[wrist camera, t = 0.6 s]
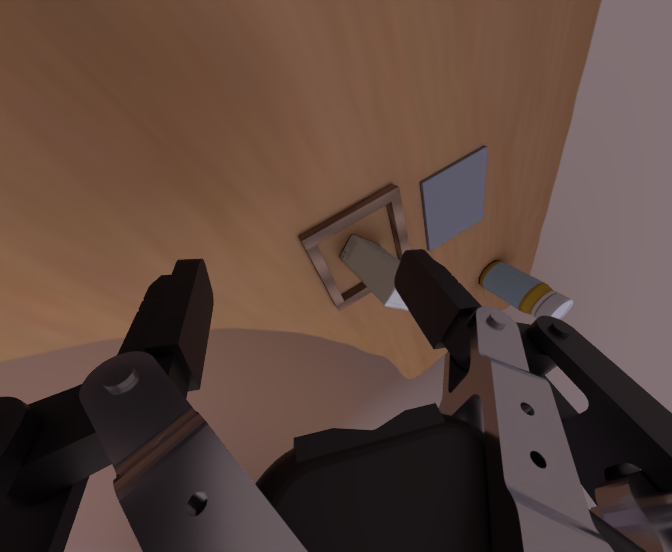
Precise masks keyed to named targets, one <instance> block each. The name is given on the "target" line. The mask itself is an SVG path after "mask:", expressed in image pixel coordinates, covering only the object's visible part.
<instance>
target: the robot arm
mask: <svg viewBox="0 0 672 552" xmlns="http://www.w3.org/2000/svg"><path fill="white" fill-rule="evenodd" d="M394 285H395V289H396V291H397V292H398V294H399V295H400V297H401V299H402V300H403V302H404V303H405V305H406V306H407V308H408V310H409V311H410V313H411V314H412V316H413V317H414V319H415V321H416V322H417V324H418V325H419V327H420V328H421V330H422V332H423V333H424V335H425V336H426V338H427V339H428V341H429V343H430V344H431V346H432V347H433V349H439V348H445V347H446V349H447V350H448V352H447V353H446V355H445V363H444V379H443V395H442V400H441V403H440V406H439V408H438V407H437V405H436V403H434V404H430V405H426V406H422V407H418V408H414V409H409V410H405V411H404V412H402V413H400V414H399V415H397V416H396V417H394V418H393V419H391V420H390V421H388V422H387V423H385V424H384V425H382V426H380V427H379V428H377V429H375V430H357V429H356V430H355V429H338V428H332V429H328V430H324V431H320V432H316V433H312V434H308V435H304V436H300V437H295V438H294V447H293V449H292V450H290V451H288V452H286V453H285V454H284V455H282V456H281V457H280V458H278V459H277V460H276V461H275V462H274V463H273V464H272V465H271V466H270V467H269V468H268V469H267V470H266V471H265V472H264V473H263V475H262V476H261V477H260V478H259V479H258V481H257V482H256V484H254V482H253V481H252V480H251V478H250V477H249V476H248V475H247V473H246V472H245V471H244V470H243V468H242V467H241V466H240V464H239V463H238V462H237V460H236V459H235V458H234V457H233V455H232V454H231V453H230V452H229V450H228V449H227V448H226V446H225V445H224V444H223V443H222V441H221V440H220V439H219V437H218V436H217V435H216V434H215V432H214V431H213V430H212V429H211V427H210V426H209V425H208V423H207V422H206V421H205V420H204V419H203V417H202V416H201V415H200V414H199V413H198V412H196V411H195V410H194V409H193V407H192V406H191V405H190V404H189V402H188V401H187V400H186V397H187V392H188V391H193V390H199V389H200V385H201V379H202V373H203V366H204V360H205V354H206V348H207V341H208V336H209V330H210V324H211V317H212V311H213V292H212V288H211V284H210V280H209V276H208V273H207V269H206V265H205V262H204V260H203V259H185V260H177V262H176V264H175V267H174V270H173V272H172V275H161V276H160V277H159V278H158V279H157V280H156V281H155V282H153V283H152V284H151V285H150V286H149V288H148V290H147V292H146V294H145V296H144V301H142V303H141V305H140V307H139V312H137V314H136V316H135V318H134V320H133V322H132V324H131V327H130V329H129V331H128V333H127V335H126V337H125V339H124V342H123V344H122V346H121V348H120V350H119V352H118V354H117V356H115V357H113V358H110V359H108V360H107V361H105V362H103V363H102V364H100V365H99V366H98V367H96V369H94V370H93V371H92V372H91V373H90V374H89V375H88V376H87V378H86V379H85V381H84V382H83V384H81V385H78V386H76V387H74V388H71V389H69V390H66V391H63V392H61V393H58V394H55V395H52V396H50V397H47V398H44V399H42V400H39V401H37V402H34V403H31V404H29V405H27V404H26V403H24V402H22V401H21V400H19V399H17V398H14V397H0V552H64V549H65V546H66V543H67V540H68V537H69V534H70V531H71V528H72V525H73V523H74V520H75V517H76V514H77V511H78V508H79V505H80V502H81V499H82V496H83V493H84V490H85V487H86V484H87V481H88V479H89V476H90V475H91V474H94V473H95V472H97V471H99V470H101V469H103V468H105V467H107V466H109V465H111V464H112V465H113V467H114V469H115V472H116V476H117V477H116V479H115V480H114V481H113V485H114V490H115V493H116V496H117V498H118V500H119V503H120V505H121V507H122V509H123V511H124V513H125V515H126V517H127V519H128V521H129V524H130V526H131V528H132V530H133V532H134V534H135V536H136V538H137V540H138V542H139V544H140V546H141V549H142V551H143V552H672V413H671V412H669V411H668V410H667V409H666V408H665V407H664V406H662V405H661V404H660V403H659V402H658V401H657V400H655V399H654V398H653V397H652V396H651V395H650V394H648V392H646V391H645V390H644V389H643V388H642V387H641V386H639V385H638V384H637V383H636V382H635V381H634V380H633V379H631V378H630V377H629V376H628V375H627V374H626V373H625V372H623V371H622V370H621V369H620V368H619V367H618V366H616V365H615V364H614V363H613V362H612V361H611V360H609V359H608V358H607V357H606V356H605V355H604V354H603V353H601V352H600V351H599V350H598V349H597V348H596V347H595V346H593V345H592V344H591V343H590V342H589V341H588V340H586V339H585V338H584V337H583V336H582V335H581V334H580V333H578V332H577V331H576V330H575V329H574V328H573V327H571V326H570V325H568V324H567V323H565V322H563V321H562V320H560V319H557V318H555V317H551V316H540V317H538V318H537V319H536V320H535V321H534V323H532V324H531V325H529V324H523V323H516V322H515V321H514V320H513V319H512V318H511V317H510V316H509V315H507V314H506V313H504V312H502V311H501V310H498V309H496V308H493V307H487V306H484V307H482V306H481V305H480V304H479V303H478V302H477V301H476V300H475V299H474V298H473V296H472V295H471V294H470V293H469V292H468V291H467V290H466V289H465V288H464V287H463V286H462V285H461V284H460V283H458V281H457V280H456V279H455V277H454V276H452V274H451V273H450V272H449V271H448V270H447V269H446V268H445V267H444V266H442V265H441V264H439V263H438V262H436V261H435V260H433V259H432V258H431V256H430V255H429V254H428V253H427V252H426V251H425V250H423V249H419V250H406V251H405V252H404V253H403V255H402V258H401V261H400V263H399V266H398V269H397V272H396V275H395V278H394ZM556 366H558V367H559V368H560V369H561V370H562V371H563V372H564V373H565V374H566V375H567V376H568V377H569V378H570V379H571V380H572V382H573V383H574V384H575V385H576V386H577V387H578V388H579V389H580V390H581V391H582V392H583V393H584V394H585V396H586V397H587V399H588V402H589V406H588V409H587V410H586V411H584V412H582V413H581V414H579V413H578V412H577V411H576V410H575V409H574V408H573V407H572V406H571V405H570V403H569V402H568V401H567V400H566V399H565V398H564V397H563V396H562V395H561V393H560V392H559V391H558V390H557V389H556V388H555V386H554V385H553V384H552V383H551V382H550V381H549V380H548V379H547V377H546V376H545V375H546V374H547V373H548V372H550V371H551V370H552V369H553V368H555V367H556ZM640 469H641V470H640ZM580 483H581V484H580ZM581 485H582V486H583V487H584V489H585V490H586V491H587V493H588V494H589V496H590V497H591V498H592V500H593V501H594V502H595V504H596V505H597V506H596V507H592V508H591V509H590V510H589V509H588V506H587V503H586V500H585V497H584V493H583V490H582V487H581Z"/></svg>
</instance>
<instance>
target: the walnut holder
mask: <svg viewBox="0 0 672 552" xmlns="http://www.w3.org/2000/svg"><path fill="white" fill-rule="evenodd" d="M385 205H387V209H388V214H389V218H390V223H391V227H392V232H393V236H394V241H395V245H396V250H397V254H398V259H399V260H400V261H401V258H402V255H403V253H404V252H405V251H406V250H410V248H409V242H408V236H407V231H406V225H405V219H404V214H403V208H402V202H401V197H400V191H399V187H398V186H396V185H393V184H391V185H389V186H387V187H386V188H384V189H382V190H380V191H378V192H377V193H375V194H373V195H371V196H369V197H368V198H366V199H364V200H362V201H361V202H359V203H357V204H355V205H353V206H352V207H350V208H348V209H346V210H344V211H343V212H341V213H339V214H337V215H336V216H334V217H332V218H330V219H328V220H327V221H325V222H323V223H321V224H319V225H318V226H316V227H314V228H312V229H311V230H309V231H307V232H305V233H303V234H302V235H300V236H298V237H299V239H300V240H301V242H302V244H303V246H304V248H305V250H306V252H307V253H308V255H309V257H310V259H311V261H312V263H313V265H314V267H315V268H316V270H317V272H318V274H319V276H320V278H321V280H322V281H323V283H324V285H325V287H326V289H327V291H328V293H329V294H330V296H331V298H332V300H333V302H334V304H335V306H336V307H337V309H338V310H339V311H341V310H343V309H344V308H346V307H347V306H349V305H351V304H352V303H354V302H356V301H357V300H359V299H361V298H362V297H364V296H365V295H367V294H369V293H370V292H371V291H370V290H369V288H368V287H367V286H366V285H365V284H364V283H363V282H362V283H360V284H359V285H357V286H355V287H354V288H352V289H350V290H349V291H347V292H345V293H344V294H342V295H341V294H340V292H339V290H338V288H337V286H336V283H335V281H334V279H333V277H332V275H331V273H330V271H329V269H328V267H327V265H326V263H325V261H324V259H323V257H322V255H321V253H320V251H319V249H318V247H317V245H316V244H318V243H320V242H322V241H324V240H325V239H327V238H329V237H331V236H332V235H334V234H336V233H338V232H339V231H341V230H343V229H345V228H346V227H348V226H350V225H352V224H353V223H355V222H357V221H359V220H360V219H362V218H364V217H366V216H367V215H369V214H371V213H373V212H374V211H376V210H378V209H380V208H381V207H383V206H385Z"/></svg>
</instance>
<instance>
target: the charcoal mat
mask: <svg viewBox="0 0 672 552" xmlns="http://www.w3.org/2000/svg"><path fill="white" fill-rule="evenodd" d="M487 148H488V146H483V147H481V148H479V149H478V150H476V151H474V152H472V153H471V154H469V155H467V156H465V157H464V158H462V159H460V160H458V161H457V162H455V163H453V164H451V165H450V166H448V167H446V168H444V169H443V170H441V171H439V172H437V173H435V174H434V175H432V176H430V177H428V178H427V179H425V180H423V181H421V182H420V189H421V197H422V206H423V214H424V223H425V232H426V240H427V249H428V250H429V251H431V250H433V249H434V248H436V247H438V246H439V245H441V244H443V243H444V242H446V241H448V240H449V239H451V238H452V237H454V236H456V235H457V234H459V233H461V232H462V231H464V230H466V229H467V228H469V227H471V226H472V225H474V224H475V223H477V222H479V221H480V220H482V219H483V208H484V193H485V178H486V163H487Z"/></svg>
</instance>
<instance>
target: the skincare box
mask: <svg viewBox="0 0 672 552" xmlns="http://www.w3.org/2000/svg"><path fill="white" fill-rule="evenodd" d="M340 260H341V261H342V262H343V263H344V264H345V265H346V266H347V267H348V268H349V269H350V270H351V271H352V272H353V273H354V274H355V275H356V276H357V277H358V278H359V279H360V280H361V281H362V282H363V283H364V284H365V285H366V286H367V287H368V288H369V290H370V291H371V292H372V293H373V294H374V295H375V296H376V297H377V298H378V299H379V300H380V301H381V302H382V303H383V304H384V305H385V306H387V307H391V308H396V309H402V310H407V311H409V310H408V308H407V306H406V305H405V303H404V302H403V300H402V299H401V297H400V295H399V294H398V292H397V291H396V289H395V285H394V278H395V275H396V272H397V269H398V266H399V263H400V260H399V259H397V258H396V257H395V256H393V255H392V254H390V253H389V252H388V251H386V250H385V249H384V248H382V247H381V246H380V245H377V244H375V243H373V242H371V241H368V240H366V239H364V238H361V237H359V236H356V235H353V234H352V235H351V237H350V239H349V241H348V243H347V245H346V246H345V248H344V250H343V252H342V254H341V256H340Z"/></svg>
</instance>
